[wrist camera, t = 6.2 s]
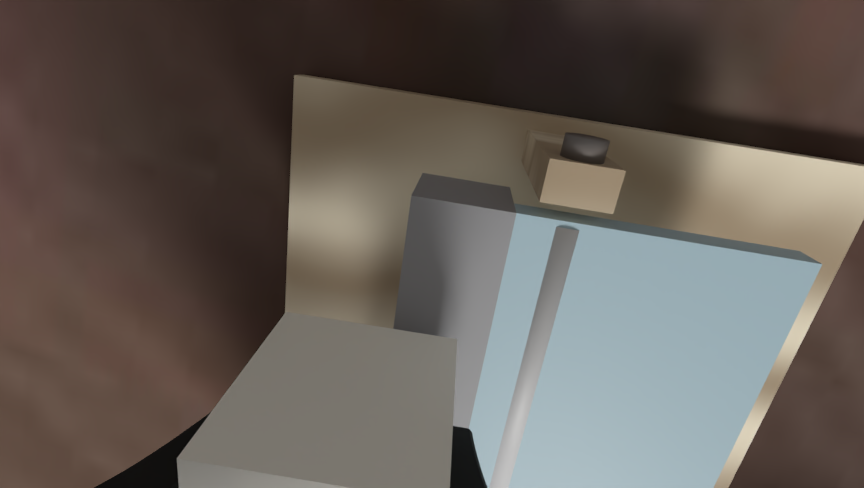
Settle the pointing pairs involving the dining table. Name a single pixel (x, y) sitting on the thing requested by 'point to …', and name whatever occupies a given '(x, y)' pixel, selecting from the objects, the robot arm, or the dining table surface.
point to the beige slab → (537, 194)
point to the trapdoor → (594, 336)
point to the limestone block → (331, 412)
